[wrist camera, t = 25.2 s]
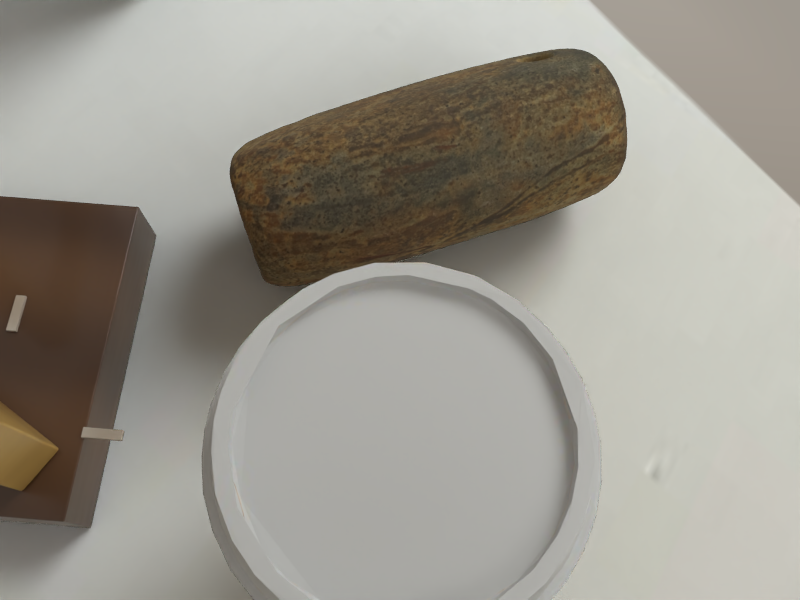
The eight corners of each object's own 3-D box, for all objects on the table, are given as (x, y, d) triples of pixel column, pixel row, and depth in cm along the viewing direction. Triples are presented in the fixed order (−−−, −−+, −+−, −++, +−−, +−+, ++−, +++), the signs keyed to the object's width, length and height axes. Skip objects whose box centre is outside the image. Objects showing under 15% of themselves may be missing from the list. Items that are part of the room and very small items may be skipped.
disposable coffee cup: (421, 332, 30) (443, 177, 19) (576, 530, 27) (706, 484, 16) (219, 471, 28) (110, 387, 17) (364, 701, 25) (349, 784, 14)
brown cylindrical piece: (539, 92, 35) (573, -18, 29) (610, 215, 32) (665, 125, 26) (232, 196, 32) (196, 101, 26) (284, 337, 30) (259, 270, 24)
